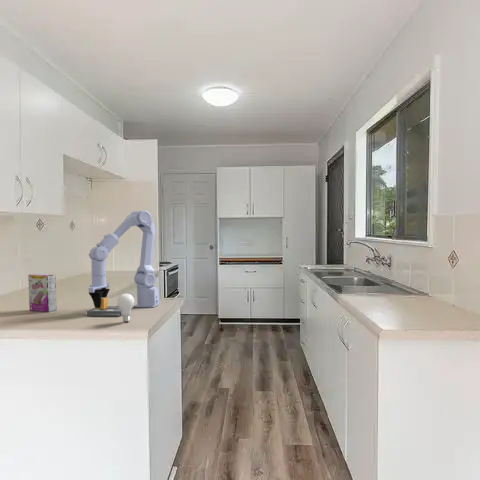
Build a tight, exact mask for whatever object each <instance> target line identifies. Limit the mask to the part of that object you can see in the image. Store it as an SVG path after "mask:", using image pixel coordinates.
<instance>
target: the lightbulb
mask: <svg viewBox="0 0 480 480" xmlns="http://www.w3.org/2000/svg"><path fill="white" fill-rule="evenodd" d="M116 302H117V303H116V304H117V306H118V307H119V308H120V309H121V312H122V321H123V322H124V323H129V322H130V321H131V312H132V310H131V309H133V307H134V306H135V298H134V296H133V295H132V294H130V293H122V294H121V295H119V297H118V298H117V301H116Z"/></svg>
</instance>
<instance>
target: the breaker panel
mask: <svg viewBox="0 0 480 480" xmlns="http://www.w3.org/2000/svg"><path fill="white" fill-rule="evenodd" d="M91 313H93V314H120V316H119V317H123V315H122V312H121V309H120V308H119V307H118V305H117V306H116V305H115V306H114V305H110V306H109V305H108V307H107V308H105V309H97V308H95V307H93V308H91V309H89V310H86V316H88V317H89V316H90V314H91ZM90 317H91V316H90Z"/></svg>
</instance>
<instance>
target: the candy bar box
mask: <svg viewBox="0 0 480 480" xmlns="http://www.w3.org/2000/svg"><path fill="white" fill-rule="evenodd" d="M27 276H28V298H29V299H28V300H29V302H28V303H29V305H28V306H29V311H30V312H41V313H51V311H52V312H55V311H57V285H56V283H57V282H56V273H55V274H54V273H30V274H28V275H27Z"/></svg>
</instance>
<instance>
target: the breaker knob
mask: <svg viewBox="0 0 480 480" xmlns="http://www.w3.org/2000/svg"><path fill="white" fill-rule="evenodd" d="M108 300H109V299H108V296H107V297H102V298H101V306H100V308H97V309H105V308H107V307H108V306H109V304H108V303H109V302H108Z"/></svg>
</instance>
